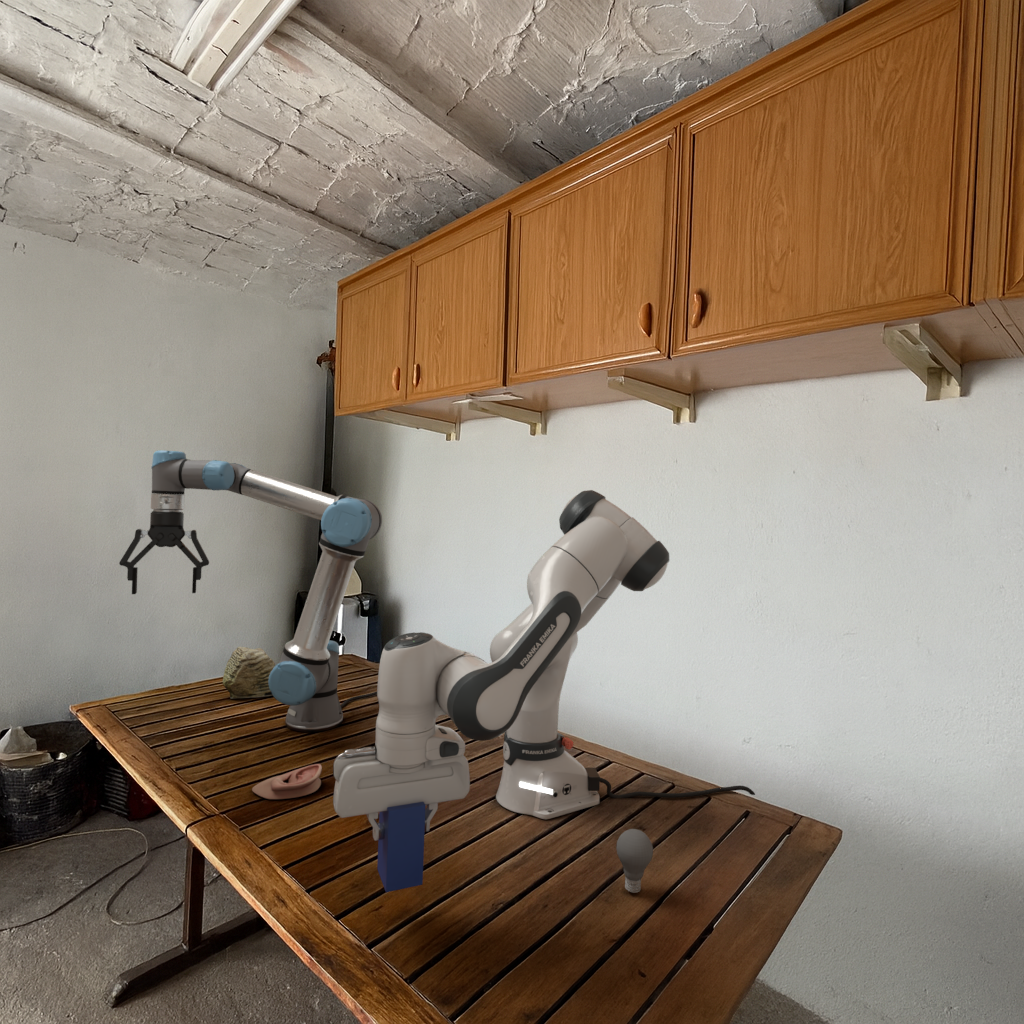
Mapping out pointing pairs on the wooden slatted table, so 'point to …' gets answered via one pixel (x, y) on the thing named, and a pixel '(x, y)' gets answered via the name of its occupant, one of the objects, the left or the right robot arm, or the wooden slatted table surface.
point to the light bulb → (634, 857)
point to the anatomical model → (291, 783)
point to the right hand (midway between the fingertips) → (401, 834)
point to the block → (402, 846)
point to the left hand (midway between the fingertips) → (164, 593)
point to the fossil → (248, 673)
